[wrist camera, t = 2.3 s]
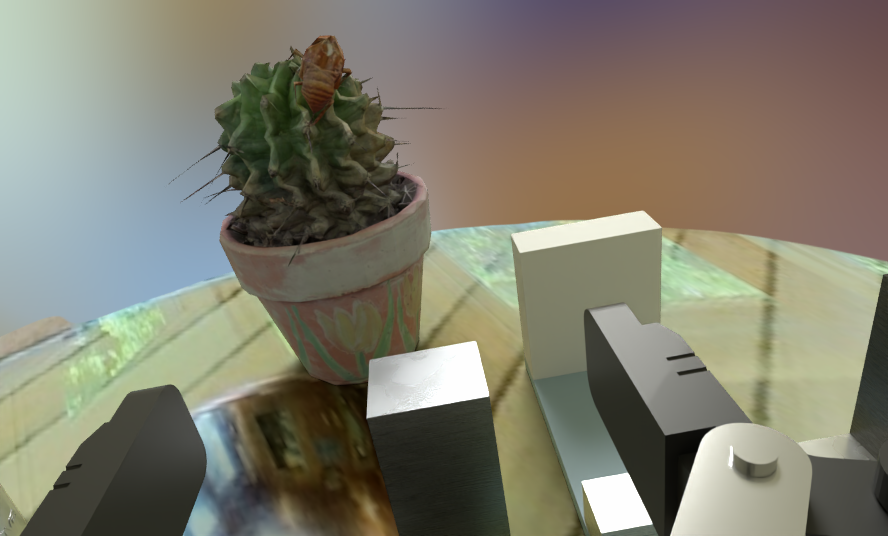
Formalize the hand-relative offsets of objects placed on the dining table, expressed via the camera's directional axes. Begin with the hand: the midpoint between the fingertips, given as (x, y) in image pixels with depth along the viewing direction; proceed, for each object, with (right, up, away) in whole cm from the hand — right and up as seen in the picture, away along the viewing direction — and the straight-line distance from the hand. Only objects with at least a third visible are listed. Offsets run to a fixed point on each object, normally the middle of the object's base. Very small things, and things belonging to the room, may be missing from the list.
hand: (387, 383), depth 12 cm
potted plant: (-7, -5, +39) cm, 40 cm away
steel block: (+2, -13, +19) cm, 23 cm away
